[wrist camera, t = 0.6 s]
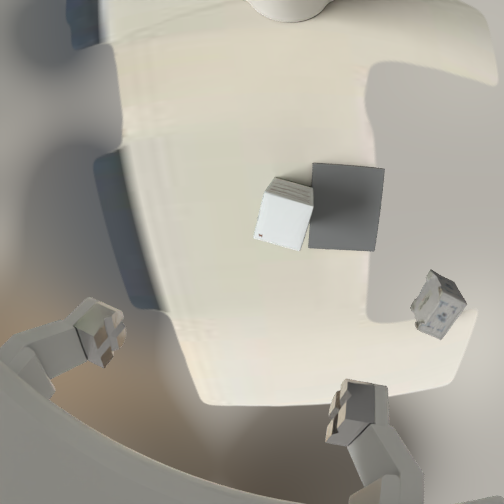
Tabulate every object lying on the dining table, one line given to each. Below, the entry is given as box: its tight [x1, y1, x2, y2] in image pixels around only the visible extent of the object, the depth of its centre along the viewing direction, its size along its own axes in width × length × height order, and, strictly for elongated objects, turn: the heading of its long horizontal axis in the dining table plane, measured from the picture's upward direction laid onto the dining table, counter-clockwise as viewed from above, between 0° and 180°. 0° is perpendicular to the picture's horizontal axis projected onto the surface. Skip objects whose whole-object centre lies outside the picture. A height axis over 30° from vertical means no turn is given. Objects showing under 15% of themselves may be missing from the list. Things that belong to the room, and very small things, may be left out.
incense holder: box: [410, 270, 467, 340], centre depth 52 cm, size 10×8×10 cm
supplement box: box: [253, 178, 314, 251], centre depth 48 cm, size 7×7×13 cm
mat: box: [308, 163, 385, 251], centre depth 52 cm, size 16×13×1 cm
